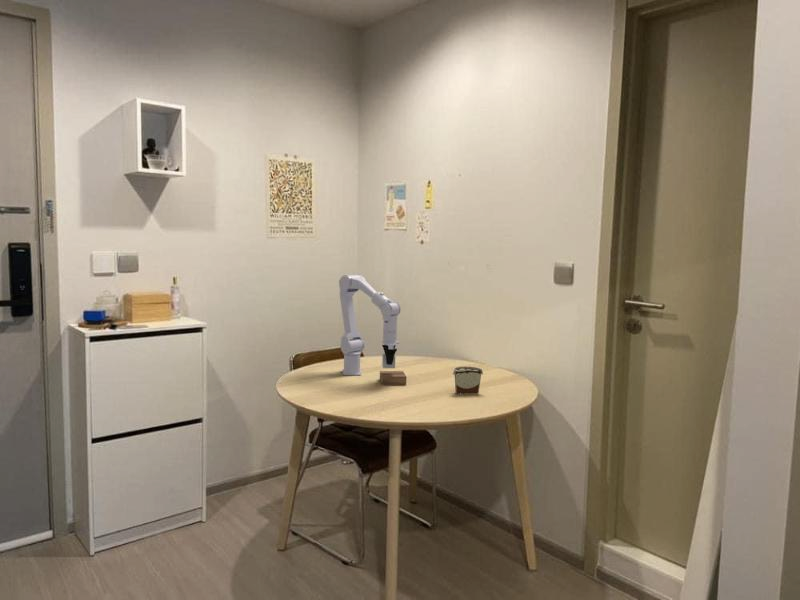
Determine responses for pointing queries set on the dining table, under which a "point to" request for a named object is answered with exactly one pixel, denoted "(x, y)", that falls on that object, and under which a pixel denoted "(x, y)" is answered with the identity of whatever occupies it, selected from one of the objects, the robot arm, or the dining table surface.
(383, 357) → the gray cube
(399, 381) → the walnut block
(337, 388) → the dining table surface
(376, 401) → the dining table surface
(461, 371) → the food container
